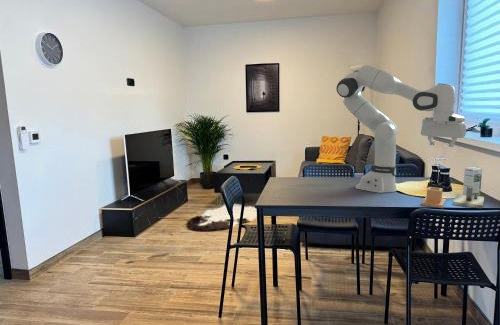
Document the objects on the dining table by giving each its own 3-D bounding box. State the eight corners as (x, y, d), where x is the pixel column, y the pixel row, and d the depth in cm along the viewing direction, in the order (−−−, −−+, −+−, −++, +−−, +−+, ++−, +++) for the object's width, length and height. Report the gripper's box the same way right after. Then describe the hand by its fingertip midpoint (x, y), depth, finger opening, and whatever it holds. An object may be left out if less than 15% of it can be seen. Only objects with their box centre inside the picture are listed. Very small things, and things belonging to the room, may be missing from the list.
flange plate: (442, 208, 163) (443, 193, 162) (421, 205, 168) (422, 190, 167) (446, 201, 174) (447, 187, 173) (426, 198, 179) (427, 185, 178)
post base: (452, 204, 168) (453, 201, 168) (456, 196, 183) (456, 193, 182) (482, 208, 161) (482, 205, 161) (484, 199, 176) (484, 196, 175)
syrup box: (471, 196, 182) (474, 169, 180) (462, 193, 188) (464, 167, 185) (480, 195, 184) (482, 168, 181) (470, 192, 189) (472, 166, 187)
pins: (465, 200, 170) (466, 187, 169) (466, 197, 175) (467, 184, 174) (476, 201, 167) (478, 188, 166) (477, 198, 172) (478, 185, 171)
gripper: (419, 117, 174) (417, 144, 177) (461, 118, 157) (459, 148, 159) (426, 117, 178) (424, 143, 180) (468, 117, 161) (466, 147, 163)
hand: (441, 146), depth 170 cm, fingers open, 8 cm apart
